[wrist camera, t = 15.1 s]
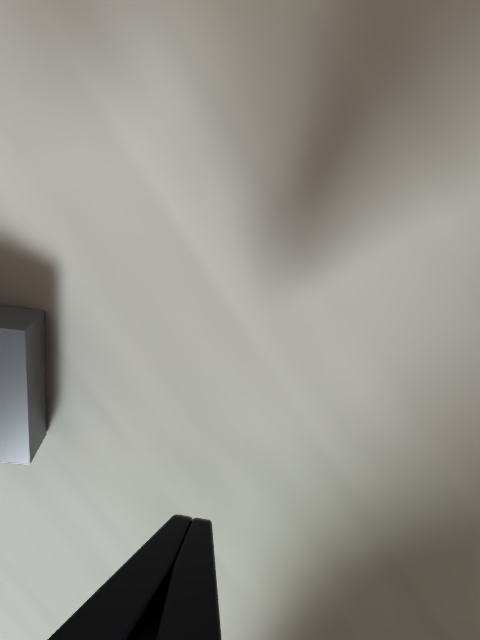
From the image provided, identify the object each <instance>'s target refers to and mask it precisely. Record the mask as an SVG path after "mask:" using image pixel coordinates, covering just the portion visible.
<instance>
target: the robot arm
mask: <svg viewBox="0 0 480 640" xmlns="http://www.w3.org/2000/svg"><path fill="white" fill-rule="evenodd" d="M48 640H221V629H220V617H219V604H218V592H217V580H216V568H215V556H214V544H213V532H212V523H211V521H210V520H206V519H201V518H194V519H192V518H191V517H189V516H183V515H174V516H172V517H171V518H170V519H169V520H168V521H167V522H166V523H165V524H164V525H163V526H162V527H161V528H160V529H159V530H158V531H157V532H156V533H155V534H154V535H153V536H152V537H151V538H150V539H149V540H148V541H147V542H146V543H145V544H144V545H143V546H142V547H141V548H140V549H139V550H138V551H137V552H136V553H135V554H134V555H133V556H132V557H131V558H130V559H129V560H128V561H127V562H126V563H125V564H124V565H123V566H122V567H121V568H120V569H119V570H118V571H117V572H116V573H115V574H114V575H113V576H112V577H111V578H110V579H109V580H107V581H106V582H105V583H104V584H103V585H102V586H101V587H100V588H99V589H98V590H97V591H96V592H95V593H94V594H93V595H92V596H91V597H90V598H89V599H88V600H87V601H86V602H85V603H84V604H83V605H82V606H81V607H80V608H79V609H78V610H77V611H76V612H75V613H74V614H73V615H72V616H71V617H70V618H69V619H68V620H67V621H66V622H65V623H64V624H63V625H62V626H61V627H60V628H59V629H58V630H57V631H56V632H55V633H54V634H53V635H52V636H51V637H50V638H49V639H48Z"/></svg>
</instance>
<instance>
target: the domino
mask: <svg viewBox="0 0 480 640" xmlns="http://www.w3.org/2000/svg"><path fill="white" fill-rule="evenodd" d="M45 436H46V383H45V325H44V311H43V310H34V309H26V308H17V307H8V306H0V463H13V464H29V465H30V463H31V462H32V460H33V458H34V456H35V454H36V452H37V450H38V449H39V447H40V445H41V443H42V441H43V439H44V438H45Z"/></svg>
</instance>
